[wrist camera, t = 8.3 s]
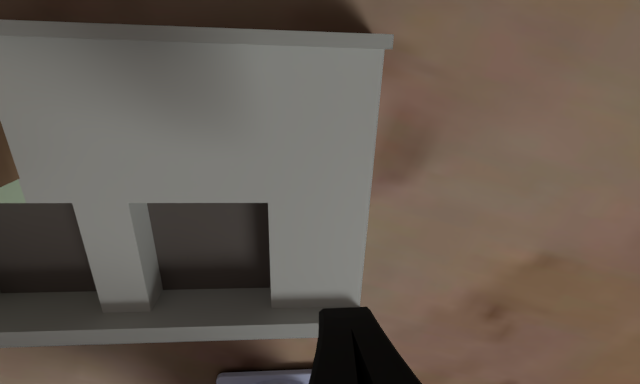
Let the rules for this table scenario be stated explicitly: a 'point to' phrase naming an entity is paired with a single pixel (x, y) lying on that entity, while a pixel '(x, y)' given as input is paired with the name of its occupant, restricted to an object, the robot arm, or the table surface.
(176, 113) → the tray
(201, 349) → the table surface
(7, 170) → the block
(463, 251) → the table surface
